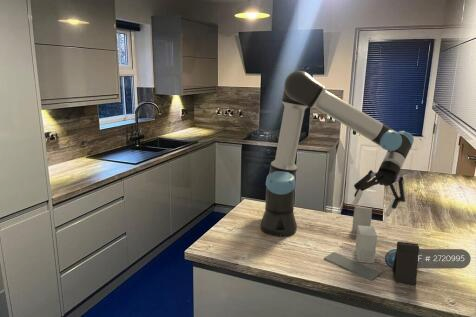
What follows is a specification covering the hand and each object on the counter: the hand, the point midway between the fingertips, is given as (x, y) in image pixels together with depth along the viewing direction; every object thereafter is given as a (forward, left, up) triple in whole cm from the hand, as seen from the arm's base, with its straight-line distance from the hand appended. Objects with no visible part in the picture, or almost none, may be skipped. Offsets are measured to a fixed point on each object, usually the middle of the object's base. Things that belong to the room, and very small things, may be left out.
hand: (370, 209), depth 139 cm
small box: (+6, -14, -13) cm, 20 cm away
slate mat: (+6, -23, -13) cm, 27 cm away
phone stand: (+21, -16, -13) cm, 30 cm away
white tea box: (-6, +6, -13) cm, 15 cm away
